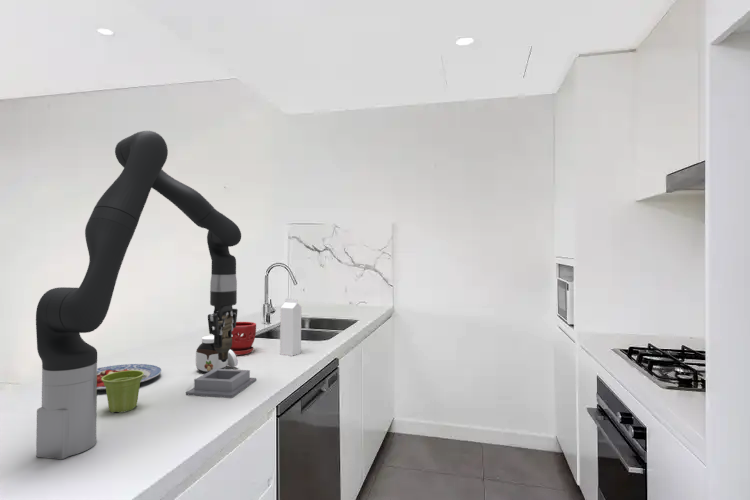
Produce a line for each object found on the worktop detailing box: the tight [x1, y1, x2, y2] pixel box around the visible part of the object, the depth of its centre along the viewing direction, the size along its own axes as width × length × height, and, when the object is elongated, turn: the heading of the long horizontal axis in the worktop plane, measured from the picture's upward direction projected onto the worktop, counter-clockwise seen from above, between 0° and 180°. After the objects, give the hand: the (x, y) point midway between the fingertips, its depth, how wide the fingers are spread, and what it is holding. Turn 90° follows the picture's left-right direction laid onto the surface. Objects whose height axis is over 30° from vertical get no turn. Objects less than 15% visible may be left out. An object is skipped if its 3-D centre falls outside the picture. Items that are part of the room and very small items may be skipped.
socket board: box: [185, 368, 257, 399], centre depth 125 cm, size 16×14×4 cm
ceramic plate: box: [97, 363, 162, 391], centre depth 130 cm, size 26×26×3 cm
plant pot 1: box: [102, 370, 144, 413], centre depth 107 cm, size 9×9×9 cm
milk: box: [279, 298, 302, 357], centre depth 167 cm, size 6×6×22 cm
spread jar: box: [195, 334, 239, 375], centre depth 143 cm, size 12×11×12 cm
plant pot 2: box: [230, 321, 257, 356], centre depth 167 cm, size 13×13×12 cm
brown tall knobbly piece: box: [214, 315, 233, 362], centre depth 125 cm, size 6×6×15 cm
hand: (223, 345), depth 125 cm, fingers closed on brown tall knobbly piece, 5 cm apart
